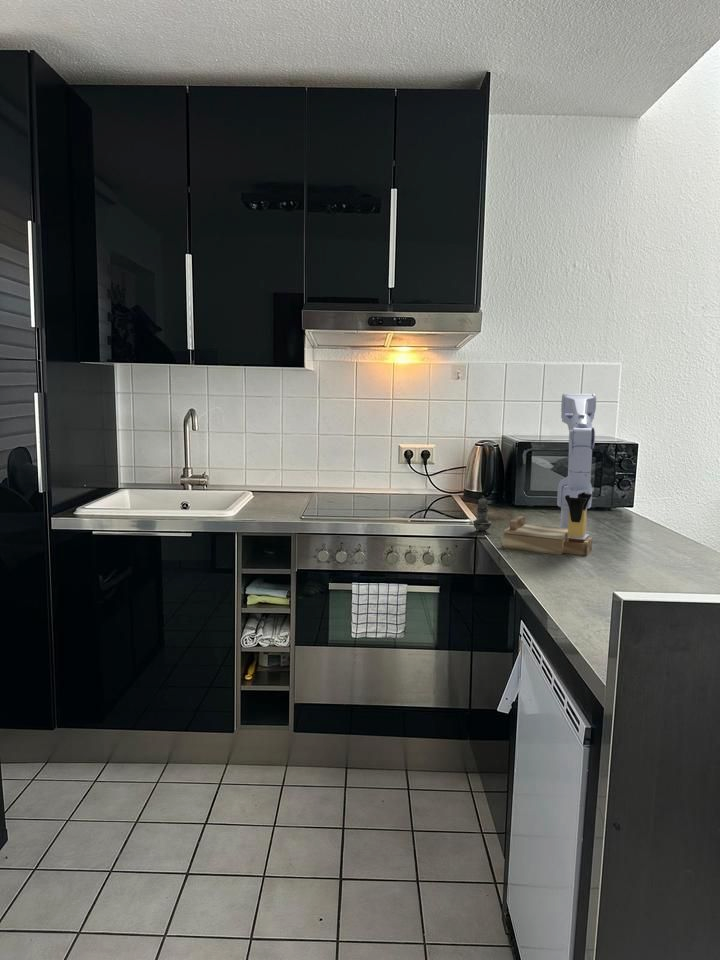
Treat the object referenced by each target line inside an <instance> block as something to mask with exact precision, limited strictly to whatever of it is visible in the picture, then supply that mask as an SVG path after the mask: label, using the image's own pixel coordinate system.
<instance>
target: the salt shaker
mask: <svg viewBox="0 0 720 960" xmlns="http://www.w3.org/2000/svg"><path fill="white" fill-rule="evenodd" d="M476 511H477V516H476V519H475V520H472V523H473V527H474V529H475V530H474V531H473V534H475V535H480V536H481V535H482V536H487V535H490V534H491V531H488V530H489V529H490V527H491V525H492V521H491V520H489V519H488V511H489V509H488V499H487V498H485V496H484V495H481V498H479V499H477V509H476Z"/></svg>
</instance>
